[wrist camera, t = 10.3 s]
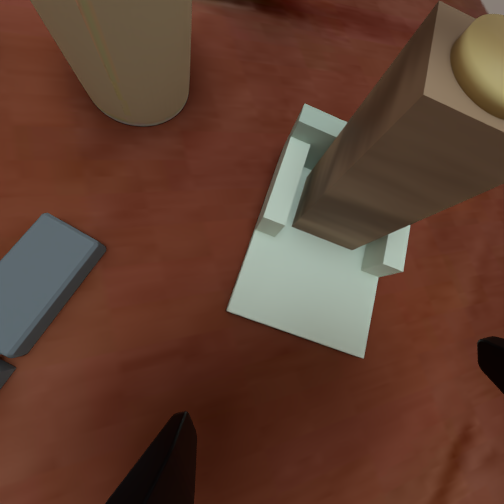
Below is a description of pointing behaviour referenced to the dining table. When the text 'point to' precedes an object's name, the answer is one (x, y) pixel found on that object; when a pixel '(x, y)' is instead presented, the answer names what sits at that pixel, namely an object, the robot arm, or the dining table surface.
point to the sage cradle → (311, 256)
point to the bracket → (40, 282)
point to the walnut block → (415, 135)
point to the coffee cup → (126, 53)
